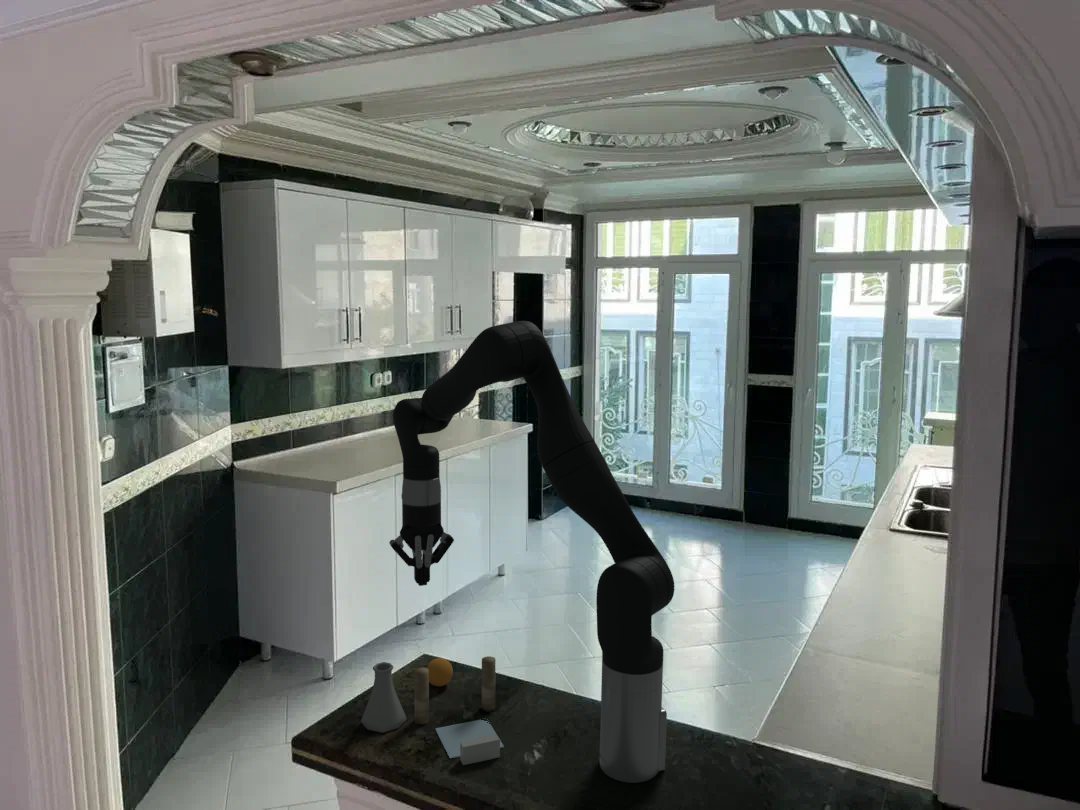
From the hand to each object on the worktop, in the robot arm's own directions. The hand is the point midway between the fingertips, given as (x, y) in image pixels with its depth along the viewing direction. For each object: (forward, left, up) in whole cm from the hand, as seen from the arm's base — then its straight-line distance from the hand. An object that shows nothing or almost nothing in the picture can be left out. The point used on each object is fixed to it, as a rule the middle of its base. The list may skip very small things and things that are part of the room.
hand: (422, 584), depth 157 cm
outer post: (+6, +24, -15) cm, 29 cm away
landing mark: (0, +32, -15) cm, 35 cm away
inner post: (-6, +24, -15) cm, 29 cm away
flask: (+12, +22, -15) cm, 29 cm away
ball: (0, +13, -12) cm, 18 cm away
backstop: (0, +38, -15) cm, 41 cm away
